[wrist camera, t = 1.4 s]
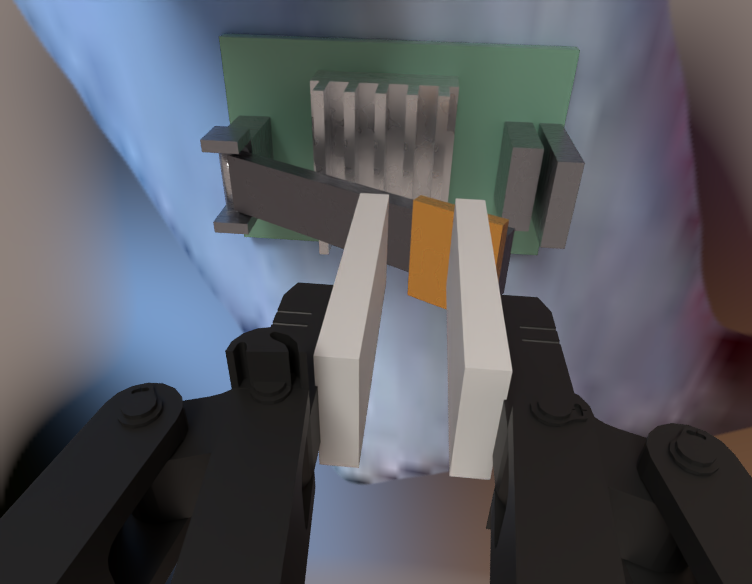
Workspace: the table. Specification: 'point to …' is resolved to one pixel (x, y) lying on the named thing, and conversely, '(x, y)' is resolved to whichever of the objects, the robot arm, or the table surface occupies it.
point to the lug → (538, 180)
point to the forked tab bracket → (234, 139)
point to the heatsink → (385, 131)
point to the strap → (335, 214)
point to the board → (466, 60)
